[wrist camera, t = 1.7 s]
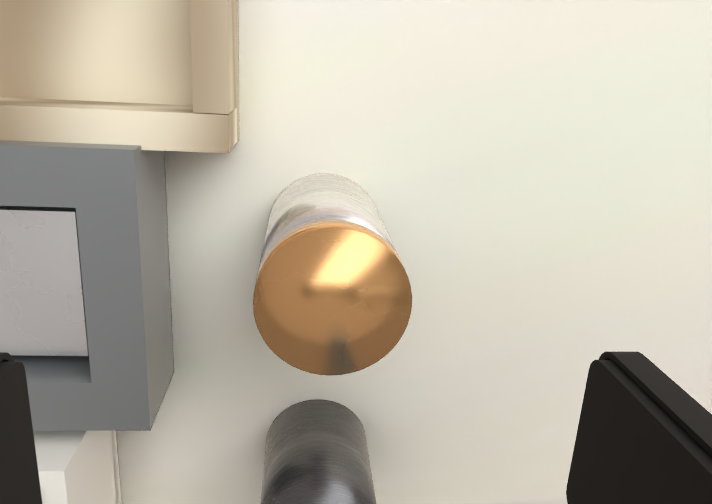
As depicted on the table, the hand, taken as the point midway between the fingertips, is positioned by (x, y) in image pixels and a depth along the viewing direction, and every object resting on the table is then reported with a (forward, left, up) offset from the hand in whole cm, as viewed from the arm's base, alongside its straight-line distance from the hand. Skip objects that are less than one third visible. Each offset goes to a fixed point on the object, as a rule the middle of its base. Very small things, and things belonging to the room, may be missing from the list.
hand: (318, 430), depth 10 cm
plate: (+9, +1, -11) cm, 14 cm away
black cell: (-1, +9, -13) cm, 15 cm away
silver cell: (-1, 0, -13) cm, 13 cm away
